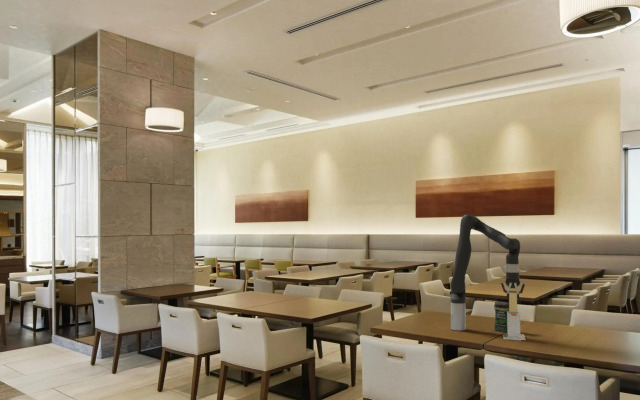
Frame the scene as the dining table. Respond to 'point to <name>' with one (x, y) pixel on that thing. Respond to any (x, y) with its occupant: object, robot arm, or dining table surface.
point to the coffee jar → (501, 316)
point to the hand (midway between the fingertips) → (513, 299)
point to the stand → (513, 327)
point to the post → (512, 301)
